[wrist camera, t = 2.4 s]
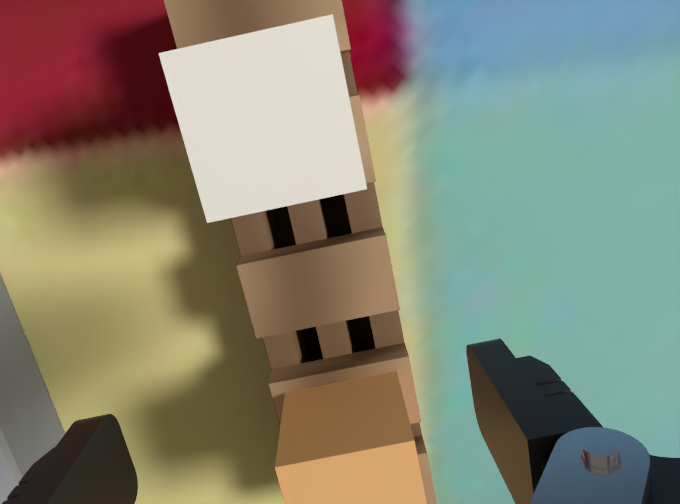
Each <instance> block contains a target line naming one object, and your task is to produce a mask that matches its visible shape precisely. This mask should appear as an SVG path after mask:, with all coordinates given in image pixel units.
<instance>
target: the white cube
mask: <svg viewBox="0 0 680 504" xmlns="http://www.w3.org/2000/svg"><path fill="white" fill-rule="evenodd" d="M158 54H159V57H160V61H161V64H162V67H163V71H164V74H165V78H166V81H167V85H168V88H169V92H170V95H171V99H172V102H173V106H174V109H175V113H176V116H177V120H178V123H179V127H180V130H181V134H182V137H183V141H184V144H185V148H186V151H187V155H188V158H189V162H190V165H191V169H192V172H193V176H194V179H195V183H196V186H197V190H198V193H199V197H200V200H201V204H202V207H203V210H204V214H205V217H206V221H207V223H210V222H215V221H219V220H224V219H229V218H234V217H238V216H243V215H248V214H252V213H257V212H262V211H266V210H271V209H276V208H281V207H285V206H290V205H295V204H299V203H304V202H309V201H314V200H318V199H323V198H328V197H332V196H337V195H342V194H347V193H351V192H356V191H361V190H365V189H367V185H366V180H365V175H364V170H363V165H362V160H361V155H360V150H359V145H358V139H357V134H356V129H355V124H354V119H353V114H352V109H351V104H350V99H349V94H348V89H347V84H346V79H345V74H344V68H343V63H342V58H341V53H340V48H339V43H338V38H337V33H336V28H335V23H334V18H333V14H331V15H327V16H322V17H318V18H314V19H309V20H305V21H300V22H296V23H291V24H287V25H282V26H278V27H273V28H269V29H264V30H260V31H255V32H251V33H246V34H242V35H237V36H233V37H229V38H224V39H220V40H215V41H211V42H206V43H202V44H197V45H193V46H188V47H184V48H179V49H175V50H170V51H166V52H161V53H158Z"/></svg>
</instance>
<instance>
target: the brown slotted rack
mask: <svg viewBox="0 0 680 504" xmlns="http://www.w3.org/2000/svg"><path fill="white" fill-rule="evenodd" d="M164 3H165V6H166V10H167V14H168V17H169V21H170V25H171V28H172V32H173V36H174V39H175V43H176V47H177V49H179V48H184V47H188V46H193V45H197V44H202V43H206V42H211V41H215V40H220V39H224V38H229V37H233V36H237V35H242V34H246V33H251V32H255V31H260V30H264V29H269V28H273V27H278V26H282V25H287V24H291V23H296V22H300V21H305V20H309V19H314V18H318V17H322V16H327V15H331V14H333V18H334V23H335V28H336V33H337V38H338V43H339V48H340V53H341V58H342V63H343V68H344V74H345V79H346V84H347V89H348V94H349V99H350V104H351V109H352V114H353V119H354V124H355V129H356V134H357V139H358V145H359V150H360V155H361V160H362V165H363V170H364V175H365V180H366V185H367V189H365V190H361V191H356V192H351V193H347V194H344V197H345V202H346V207H347V212H348V217H349V222H350V226H351V231H352V233H351V234H346V235H342V236H337V237H332V238H330V236H329V231H328V226H327V222H326V217H325V213H324V208H323V204H322V199H318V200H314V201H309V202H304V203H299V204H295V205H290V206H287V208H288V212H289V216H290V220H291V224H292V229H293V233H294V237H295V241H296V245H293V246H288V247H283V248H281V244H280V240H279V236H278V232H277V228H276V224H275V220H274V216H273V212H272V209H271V210H266V211H262V212H257V213H252V214H248V215H243V216H238V217H234V218H231V221H232V224H233V228H234V232H235V235H236V239H237V243H238V247H239V250H240V254H241V257H240V259H239V261H238V263H237V265H236V266H237V270H238V274H239V277H240V281H241V285H242V288H243V292H244V296H245V299H246V303H247V307H248V310H249V314H250V318H251V321H252V325H253V329H254V332H255V336H256V338H261V337H263V340H264V343H265V347H266V351H267V354H268V358H269V362H270V366H271V374H270V380H269V387H270V391H271V395H272V398H273V402H274V406H275V409H276V413H277V417H278V420H279V424H280V425H281V418H282V410H283V403H284V395H285V393H287V392H292V391H297V390H302V389H307V388H312V387H317V386H322V385H327V384H332V383H337V382H342V381H347V380H352V379H357V378H362V377H367V376H372V375H378V374H383V373H388V372H393V371H397V374H398V378H399V382H400V386H401V390H402V394H403V398H404V402H405V405H406V409H407V413H408V417H409V421H410V425H411V429H412V433H413V437H414V440H415V445H416V451H417V456H418V461H419V466H420V471H421V476H422V481H423V486H424V491H425V496H426V502H427V504H436V499H435V494H434V489H433V483H432V478H431V473H430V467H429V462H428V457H427V452H426V448H425V445H424V441H423V438H422V434H421V428H420V423H419V422H421V419H420V414H419V409H418V404H417V398H416V393H415V388H414V382H413V377H412V372H411V366H410V361H409V356H408V353H407V350H406V347H405V343H404V338H403V333H402V328H401V323H400V317H399V312H398V310H400V308H399V303H398V297H397V292H396V287H395V281H394V276H393V271H392V265H391V260H390V255H389V250H388V244H387V239H386V234H385V232H384V230H383V227H382V222H381V217H380V212H379V206H378V201H377V196H376V191H375V185H374V182H375V181H376V180H375V175H374V170H373V165H372V159H371V154H370V149H369V143H368V138H367V133H366V127H365V122H364V117H363V111H362V106H361V101H360V95H357V90H356V85H355V80H354V74H353V69H352V64H351V58H350V53H349V51H350V49H351V48H350V42H349V37H348V32H347V26H346V21H345V16H344V10H343V5H342V0H164ZM366 316H369V319H370V323H371V328H372V333H373V338H374V343H375V348H376V349H371V350H366V351H361V352H356V353H355V350H354V345H353V341H352V336H351V332H350V327H349V323H348V320H351V319H356V318H361V317H366ZM311 327H316V330H317V334H318V338H319V342H320V347H321V351H322V355H323V359H321V360H316V361H311V362H309V358H308V354H307V350H306V346H305V342H304V338H303V334H302V330H301V329H306V328H311Z"/></svg>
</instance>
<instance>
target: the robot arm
mask: <svg viewBox="0 0 680 504" xmlns="http://www.w3.org/2000/svg"><path fill="white" fill-rule="evenodd" d="M467 359H468V366H469V373H470V380H471V387H472V394H473V401H474V408H475V413H476V417H477V421H478V425H479V428H480V431H481V433H482V436H483V438H484V440H485V442H486V444H487V446H488V448H489V450H490V452H491V454H492V456H493V458H494V460H495V462H496V465H497V467H498V469H499V471H500V473H501V475H502V477H503V479H504V481H505V483H506V485H507V487H508V489H509V491H510V493H511V495H512V497H513V499H514V501H515V503H516V504H680V458H667V457H658V456H652V455H649V453H648V451H647V449H646V448H645V447H644V446H643V444H641V443H640V442H639V441H638V440H637V439H635V438H633V437H632V436H630V435H628V434H626V433H623V432H620V431H617V430H613V429H609V428H603V427H602V425H601V424H600V423H599V422H598V421H597V420H596V418H595V417H594V416H593V415H592V414H591V413H590V412H589V410H588V409H587V408H586V407H585V406H584V405H583V403H582V402H581V401H580V400H579V399H578V398H577V397H576V395H575V394H574V393H573V392H571V391H570V388H569V387H568V386H567V385H566V384H565V383H564V382H563V381H561V378H560V377H559V376H558V375H557V373H556V372H555V371H554V370H553V369H552V368H551V367H550V365H548V364H546V363H544V362H542V361H540V360H538V359H536V358H534V357H532V356H526V357H521V358H515V357H514V355H513V354H512V353H511V351H510V350H509V349H508V347H507V346H506V345H505V343H504V342H503V341H502V340H501V339H496V340H491V341H485V342H480V343H475V344H470V345H467ZM137 489H138V483H137V475H136V471H135V468H134V465H133V462H132V460H131V457H130V454H129V451H128V448H127V445H126V442H125V440H124V437H123V434H122V431H121V428H120V425H119V423H118V421H117V419H116V418H115V417H114V416H113V415H111V414H107V415H102V416H97V417H92V418H87V419H82V420H77V421H75V422H74V423H73V424H72V425H71V427H70V428H69V429H68V431H67V432H66V433H65V435H64V436H63V437H62V439H61V440H60V441H59V443H58V444H57V445H56V447H54V448H52V449H51V450H50V451H49V452H47V453H46V454H45V455H44V456H42V457H41V458H40V459H39V460H37V461H36V462H35V463H34V464H33V465H32V466H31V467H30V468H29V470H28V471H27V472H26V473H25V475H24V476H23V477H22V479H21V480H20V481H19V485H18V486H15V488H14V489H13V490H12V491H11V493H10V494H9V495H8V497H7V500H6V501H4V502H3V503H2V504H134V503H135V500H136V497H137Z"/></svg>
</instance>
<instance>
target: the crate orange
mask: <svg viewBox="0 0 680 504" xmlns="http://www.w3.org/2000/svg"><path fill="white" fill-rule="evenodd" d="M275 470H276V474H277V477H278V481H279V484H280V488H281V491H282V495H283V498H284V502H285V504H427V502H426V496H425V491H424V486H423V481H422V476H421V471H420V466H419V461H418V456H417V451H416V445H415V440H414V437H413V433H412V429H411V425H410V421H409V417H408V413H407V409H406V405H405V402H404V398H403V394H402V390H401V386H400V382H399V378H398V374H397V371H393V372H388V373H383V374H378V375H372V376H367V377H362V378H357V379H352V380H347V381H342V382H337V383H332V384H327V385H322V386H317V387H312V388H307V389H302V390H297V391H292V392H287V393H285V395H284V403H283V410H282V418H281V425H280V433H279V440H278V447H277V455H276V462H275Z"/></svg>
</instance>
